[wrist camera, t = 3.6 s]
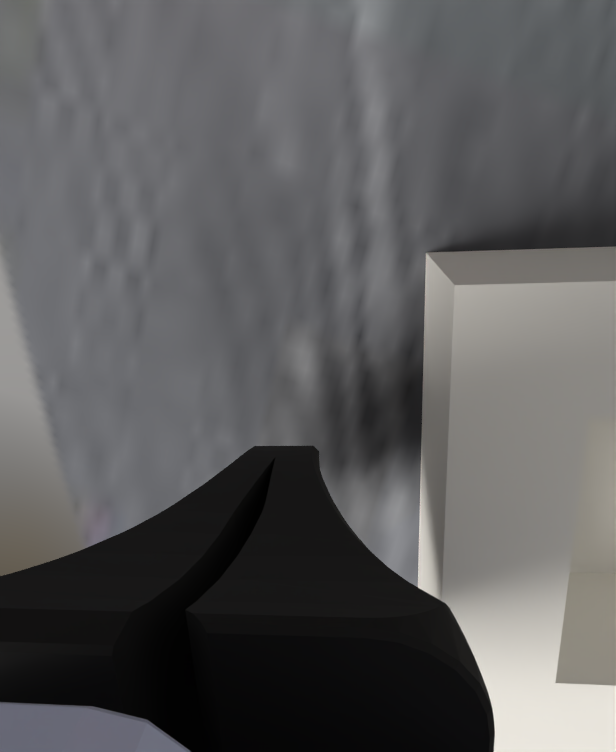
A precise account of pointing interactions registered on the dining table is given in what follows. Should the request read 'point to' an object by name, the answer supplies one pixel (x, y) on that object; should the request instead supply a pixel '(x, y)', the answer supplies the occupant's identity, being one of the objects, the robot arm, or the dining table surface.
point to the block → (525, 483)
